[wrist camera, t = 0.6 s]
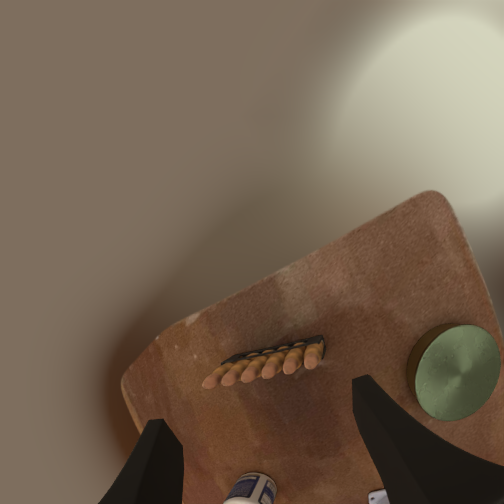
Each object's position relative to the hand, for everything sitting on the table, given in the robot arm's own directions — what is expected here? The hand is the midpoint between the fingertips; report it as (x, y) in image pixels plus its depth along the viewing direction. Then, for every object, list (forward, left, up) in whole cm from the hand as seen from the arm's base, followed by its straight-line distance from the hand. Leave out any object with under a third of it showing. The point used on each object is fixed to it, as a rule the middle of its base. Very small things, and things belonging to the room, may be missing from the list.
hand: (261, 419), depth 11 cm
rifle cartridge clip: (-1, +4, -25) cm, 26 cm away
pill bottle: (-19, +10, -25) cm, 33 cm away
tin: (-7, -15, -25) cm, 30 cm away
